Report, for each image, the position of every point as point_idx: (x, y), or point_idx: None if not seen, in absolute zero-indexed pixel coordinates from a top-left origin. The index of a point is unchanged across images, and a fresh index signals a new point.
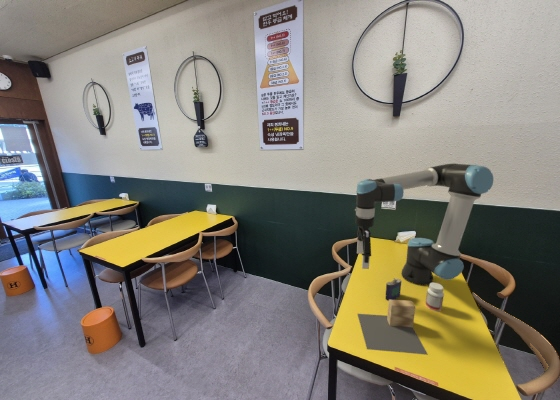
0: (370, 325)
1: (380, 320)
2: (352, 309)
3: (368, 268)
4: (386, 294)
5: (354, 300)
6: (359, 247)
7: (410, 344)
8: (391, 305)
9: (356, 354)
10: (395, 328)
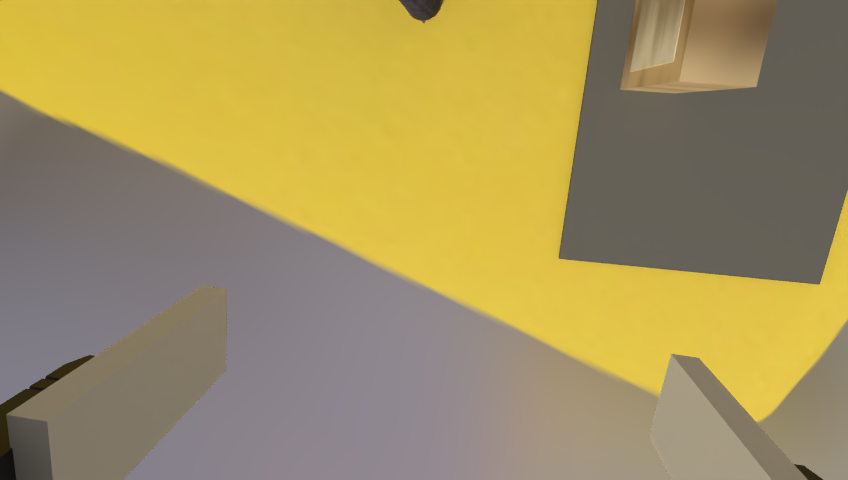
0: (661, 212)
1: (627, 136)
2: (515, 273)
3: (700, 367)
4: (425, 10)
5: (432, 238)
6: (163, 406)
7: (830, 26)
8: (747, 87)
9: (832, 339)
10: None
